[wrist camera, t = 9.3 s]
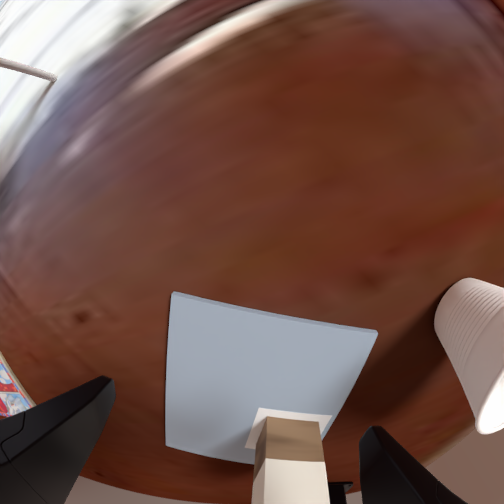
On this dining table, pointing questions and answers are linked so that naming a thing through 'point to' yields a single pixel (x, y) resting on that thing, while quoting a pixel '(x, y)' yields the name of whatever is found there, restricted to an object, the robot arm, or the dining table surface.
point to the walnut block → (288, 442)
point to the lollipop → (27, 69)
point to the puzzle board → (12, 392)
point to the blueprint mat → (252, 374)
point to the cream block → (291, 483)
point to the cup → (476, 346)
